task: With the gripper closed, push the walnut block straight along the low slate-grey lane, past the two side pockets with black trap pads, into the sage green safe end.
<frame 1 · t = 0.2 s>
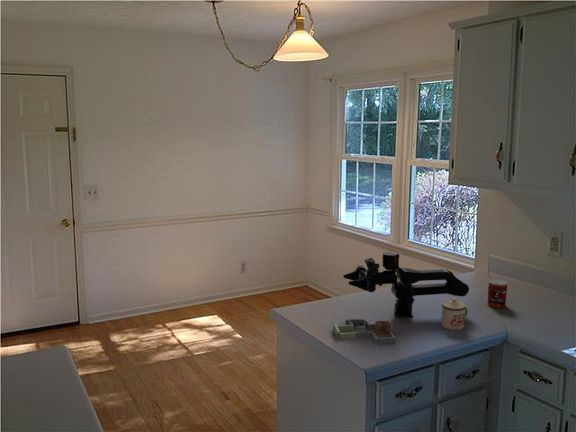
hand: (346, 279, 224), 16 cm above the worktop, tool horizontal, fingers open, 9 cm apart
teacup with lid: (455, 326, 219), on the worktop
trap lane: (370, 333, 211), on the worktop
walnut block: (383, 332, 212), on the worktop
canned food: (496, 305, 242), on the worktop
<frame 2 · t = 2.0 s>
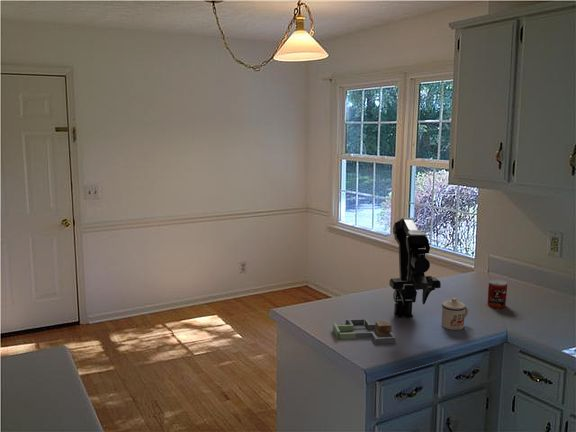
hand: (413, 304, 211), 11 cm above the worktop, tool pointing down, fingers open, 7 cm apart
nothing on the worktop moved.
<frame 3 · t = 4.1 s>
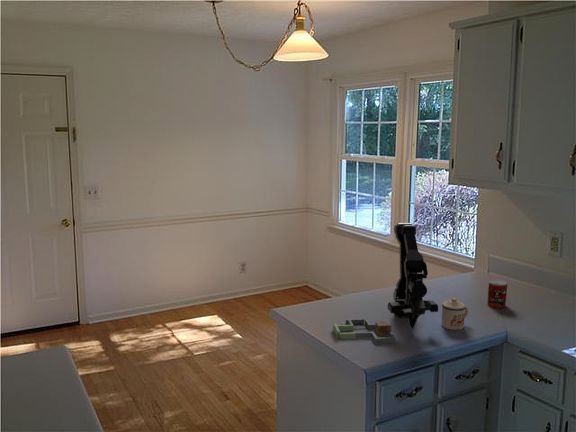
hand: (411, 327, 213), 2 cm above the worktop, tool pointing down, fingers closed
nothing on the worktop moved.
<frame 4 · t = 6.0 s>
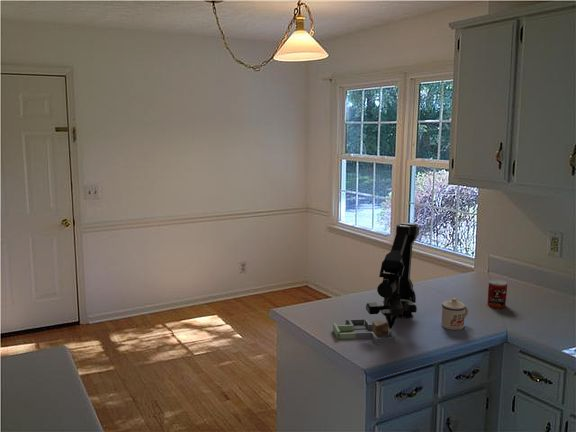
hand: (390, 328, 211), 2 cm above the worktop, tool pointing down, fingers closed
walnut block: (380, 332, 211), on the worktop, touching gripper
everything else where it was.
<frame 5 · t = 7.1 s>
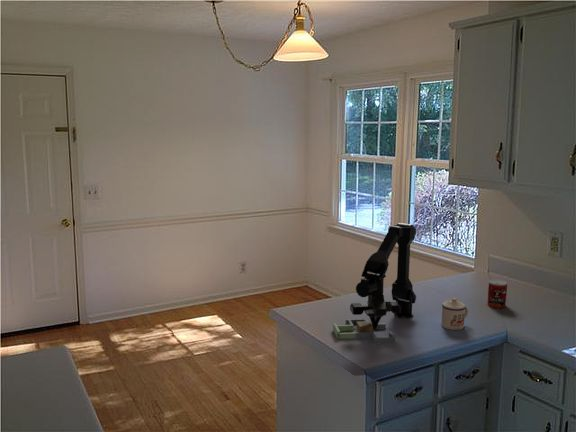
hand: (374, 329, 211), 2 cm above the worktop, tool pointing down, fingers closed
walnut block: (364, 333, 211), on the worktop, touching gripper
everything else where it was.
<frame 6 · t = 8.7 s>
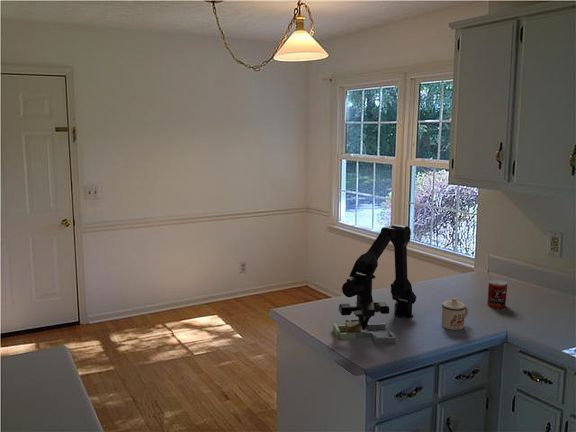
hand: (363, 329, 210), 2 cm above the worktop, tool pointing down, fingers closed
walnut block: (352, 333, 210), on the worktop, touching gripper
everything else where it was.
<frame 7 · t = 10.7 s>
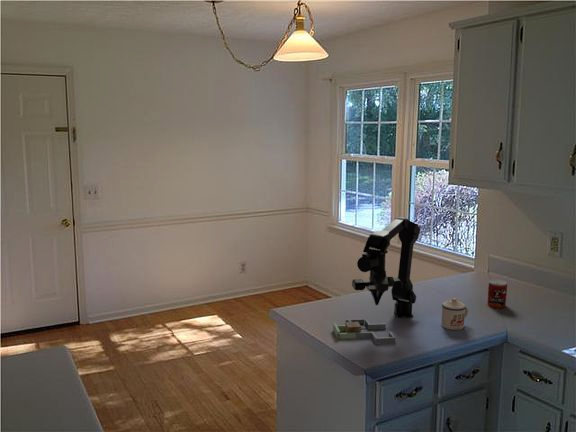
hand: (376, 304, 211), 11 cm above the worktop, tool pointing down, fingers closed
walnut block: (352, 334, 210), on the worktop
everything else where it was.
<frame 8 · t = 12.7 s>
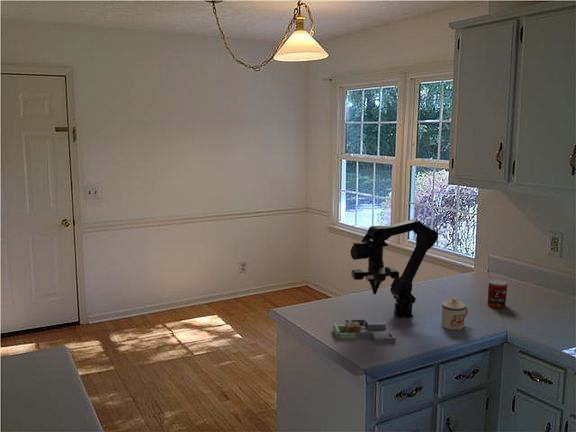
hand: (374, 294, 223), 11 cm above the worktop, tool pointing down, fingers closed
nothing on the worktop moved.
at the end: walnut block inside the target area (0.8 cm from its centre), on the worktop; walnut block tilted 0°; walnut block moved 12.0 cm from its start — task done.
